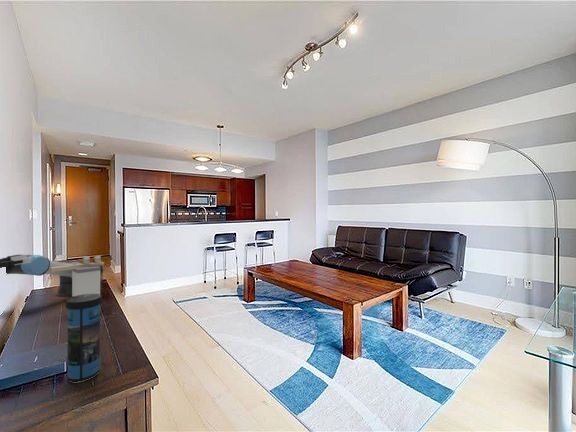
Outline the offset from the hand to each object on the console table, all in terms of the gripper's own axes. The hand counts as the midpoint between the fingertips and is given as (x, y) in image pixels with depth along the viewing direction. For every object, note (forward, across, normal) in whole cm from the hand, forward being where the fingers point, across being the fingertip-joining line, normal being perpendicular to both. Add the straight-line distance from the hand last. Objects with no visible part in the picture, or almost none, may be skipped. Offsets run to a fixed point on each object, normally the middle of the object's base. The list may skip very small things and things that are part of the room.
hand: (29, 258), depth 157 cm
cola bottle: (+35, -27, -40) cm, 60 cm away
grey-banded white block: (+22, 0, -39) cm, 45 cm away
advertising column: (+2, +79, -38) cm, 88 cm away
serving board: (+21, 0, -11) cm, 24 cm away
